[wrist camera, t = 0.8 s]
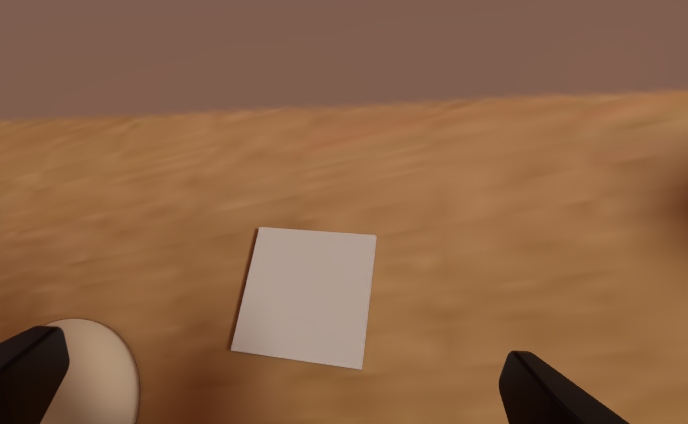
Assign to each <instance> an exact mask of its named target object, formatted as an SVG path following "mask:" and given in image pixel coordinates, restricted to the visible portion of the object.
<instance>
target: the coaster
mask: <svg viewBox="0 0 688 424" xmlns="http://www.w3.org/2000/svg"><path fill="white" fill-rule="evenodd" d="M44 326H57V327H60V328H61V329H62V330H63V331H64V335H65V339H66V344H67V348H68V353H69V357H70V364H69V368H68V371H67V373H66V375H65V377H64V379H63V381H62V383H61V385H60V387H59V389H58V391H57V392H56V394H55V396H54V398H53V400H52V402H51V404H50V406H49V408H48V410H47V412H46V414H45V415H44V417H43V419H42V421H41V423H40V424H136V420H137V416H138V409H139V401H140V384H139V374H138V370H137V365H136V362H135V359H134V356H133V354H132V352H131V350H130V348H129V346H128V345H127V343H126V342H125V341H124V339H123V338H122V337H121V336H120V335H119V334H118V333H117V332H116V331H114V330H113V329H111V328H110V327H108V326H106V325H104V324H101V323H98V322H94V321H90V320H84V319H64V320H60V321H55V322H52V323H49V324H47V325H44Z"/></svg>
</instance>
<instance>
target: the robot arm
mask: <svg viewBox="0 0 688 424" xmlns="http://www.w3.org/2000/svg"><path fill="white" fill-rule="evenodd" d="M69 364H70V357H69V353H68V348H67V344H66V339H65V335H64V331H63V330H62V329H61V328H60V327H57V326H35V327H32V328H30V329H28V330H26V331H24V332H22V333H20V334H18V335H16V336H14V337H12V338H10V339H8V340H6V341H3V342H1V343H0V424H40V423H41V421H42V419H43V417H44V415H45V414H46V412H47V410H48V408H49V406H50V404H51V402H52V400H53V398H54V396H55V394H56V392H57V391H58V389H59V387H60V385H61V383H62V381H63V379H64V377H65V375H66V373H67V371H68V368H69ZM499 390H500V394H501V398H502V401H503V405H504V408H505V411H506V415H507V418H508V422H509V424H629V423H628V422H627V421H625V420H624V419H622V418H621V417H620V416H618V415H617V414H616V413H614V412H613V411H611V410H610V409H609V408H607V407H606V406H605V405H603V404H602V403H600V402H599V401H598V400H596V399H595V398H594V397H592V396H591V395H589V394H588V393H587V392H585V391H584V390H583V389H581V388H580V387H578V386H577V385H576V384H574V383H573V382H572V381H570V380H569V379H567V378H566V377H565V376H563V375H562V374H561V373H559V372H558V371H556V370H555V369H554V368H552V367H551V366H550V365H548V364H547V363H545V362H544V361H543V360H541V359H540V358H539V357H537V356H536V355H534V354H533V353H531V352H528V351H511V352H510V353H509V354H508V356H507V358H506V361H505V364H504V367H503V370H502V372H501V375H500V378H499Z"/></svg>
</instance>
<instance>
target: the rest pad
mask: <svg viewBox="0 0 688 424" xmlns="http://www.w3.org/2000/svg"><path fill="white" fill-rule="evenodd" d="M376 239H377V237H376V235H365V234H350V233H336V232H322V231H308V230H294V229H280V228H265V227H259V231H258V236H257V240H256V244H255V248H254V253H253V257H252V261H251V265H250V270H249V274H248V278H247V283H246V287H245V291H244V295H243V300H242V304H241V308H240V313H239V317H238V321H237V325H236V330H235V334H234V338H233V342H232V347H231V351H238V352H245V353H251V354H258V355H265V356H272V357H279V358H285V359H292V360H299V361H306V362H313V363H319V364H326V365H333V366H340V367H347V368H353V369H360V370H362V364H363V356H364V347H365V338H366V329H367V320H368V311H369V302H370V293H371V284H372V275H373V266H374V257H375V248H376Z"/></svg>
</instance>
